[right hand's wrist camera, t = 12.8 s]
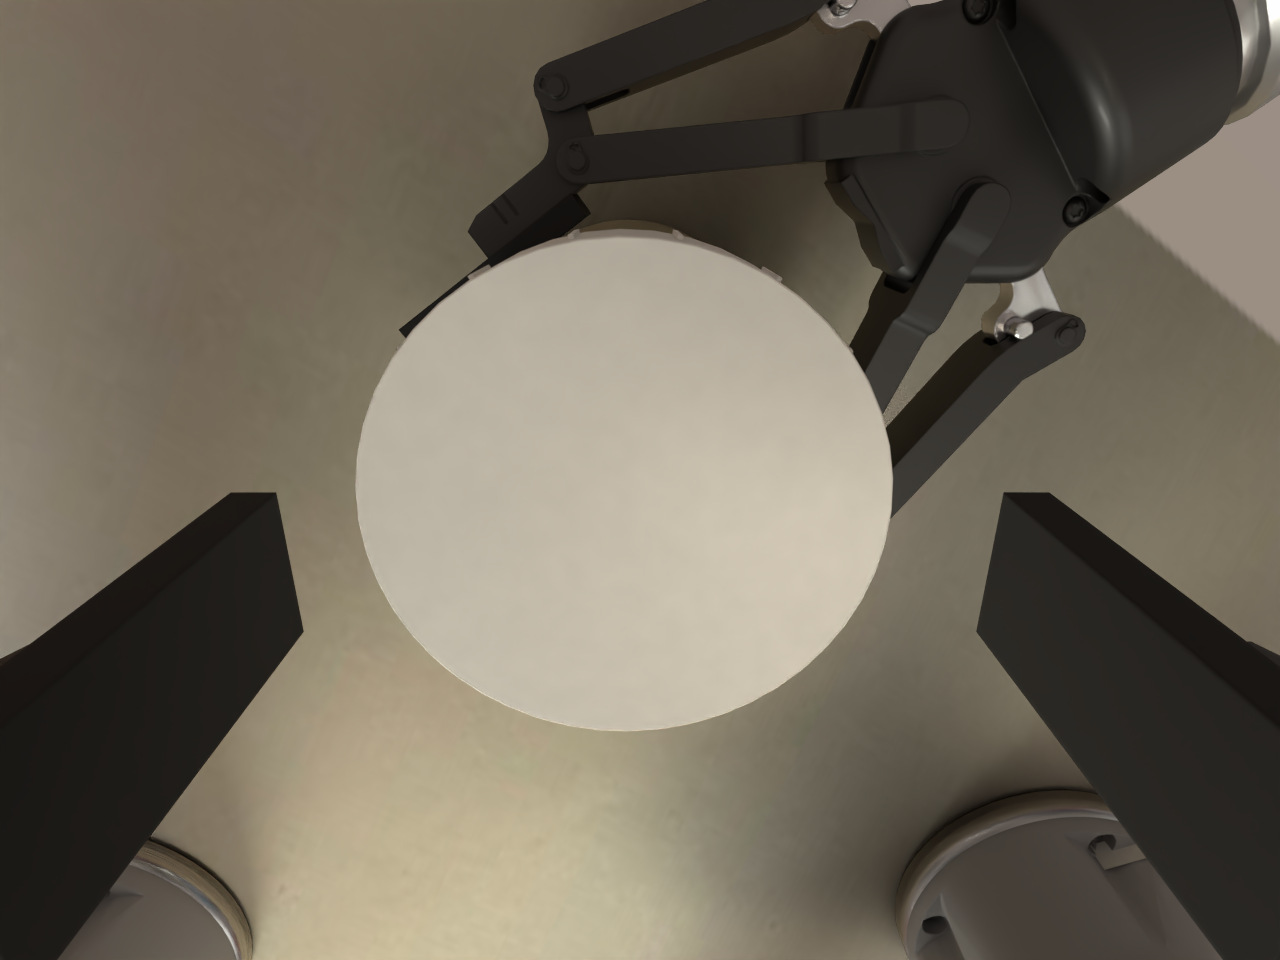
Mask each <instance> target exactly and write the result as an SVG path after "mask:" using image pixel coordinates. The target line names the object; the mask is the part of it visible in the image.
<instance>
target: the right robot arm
mask: <svg viewBox="0 0 1280 960" xmlns="http://www.w3.org/2000/svg"><path fill="white" fill-rule="evenodd" d="M303 632H304V631H303V626H302V621H301V616H300V611H299V606H298V601H297V596H296V591H295V585H294V580H293V575H292V570H291V565H290V560H289V555H288V550H287V545H286V540H285V535H284V530H283V525H282V520H281V514H280V509H279V504H278V499H277V494H276V493H230V494H228V495H227V496H226V497H224V498H223V499H222V500H220V501H219V502H218V503H216V504H215V505H214V506H212V507H211V508H210V509H208V510H207V511H206V512H204V513H203V514H202V515H200V516H199V517H198V518H196V519H195V520H194V521H193V522H191V523H190V524H189V525H187V526H186V527H185V528H183V529H182V530H181V531H179V532H178V533H177V534H175V535H174V536H173V537H171V538H170V539H169V540H167V541H166V542H165V543H163V544H162V545H161V546H159V547H158V548H157V549H155V550H154V551H153V552H151V553H150V554H149V555H147V556H146V557H145V558H144V559H142V560H141V561H140V562H138V563H137V564H136V565H134V566H133V567H132V568H130V569H129V570H128V571H126V572H125V573H124V574H122V575H121V576H120V577H118V578H117V579H116V580H114V581H113V582H112V583H110V584H109V585H108V586H106V587H105V588H104V589H102V590H101V591H100V592H99V593H97V594H96V595H95V596H93V597H92V598H91V599H89V600H88V601H87V602H85V603H84V604H83V605H81V606H80V607H79V608H77V609H76V610H75V611H73V612H72V613H71V614H69V615H68V616H67V617H65V618H64V619H63V620H61V621H60V622H59V623H57V624H56V625H55V626H53V627H52V628H51V629H50V630H48V631H47V632H46V633H44V634H43V635H42V636H40V637H39V638H38V639H36V640H35V641H34V642H32V643H31V644H29V645H27V646H25V647H23V648H21V649H19V650H17V651H15V652H13V653H11V654H9V655H7V656H5V657H3V658H1V659H0V960H251V957H252V939H251V933H250V929H249V926H248V923H247V921H246V918H245V916H244V914H243V912H242V910H241V908H240V907H239V905H238V904H237V902H236V901H235V899H234V898H233V897H232V896H231V894H230V893H229V892H228V891H227V890H226V889H225V888H224V887H223V886H222V885H221V884H220V883H219V882H218V881H217V880H216V879H215V878H214V877H213V876H212V875H210V874H209V873H208V872H207V871H205V870H204V869H203V868H201V867H200V866H198V865H197V864H196V863H194V862H192V861H191V860H189V859H187V858H186V857H184V856H182V855H180V854H178V853H176V852H174V851H172V850H170V849H168V848H166V847H163V846H161V845H159V844H156V843H153V842H151V841H148V838H149V837H150V836H151V834H152V833H153V832H154V830H155V829H156V828H157V826H158V825H159V824H160V822H161V821H162V820H163V818H164V817H165V816H166V814H167V813H168V812H169V810H170V809H171V808H172V806H173V805H174V804H175V802H176V801H177V800H178V798H179V797H180V796H181V794H182V793H183V792H184V790H185V789H186V788H187V786H188V785H189V784H190V782H191V781H192V780H193V778H194V777H195V776H196V774H197V773H198V772H199V770H200V769H201V768H202V766H203V765H204V764H205V762H206V761H207V760H208V758H209V757H210V756H211V754H212V753H213V752H214V750H215V749H216V748H217V746H218V745H219V744H220V742H221V741H222V740H223V738H224V737H225V736H226V734H227V733H228V732H229V730H230V729H231V728H232V726H233V725H234V724H235V722H236V721H237V720H238V718H239V717H240V716H241V714H242V713H243V712H244V710H245V709H246V708H247V706H248V705H249V704H250V702H251V701H252V700H253V698H254V697H255V696H256V694H257V693H258V692H259V690H260V689H261V688H262V686H263V685H264V684H265V682H266V681H267V680H268V678H269V677H270V676H271V674H272V673H273V672H274V670H275V669H276V668H277V666H278V665H279V664H280V662H281V661H282V660H283V658H284V657H285V656H286V654H287V653H288V652H289V650H290V649H291V648H292V646H293V645H294V644H295V642H296V641H297V640H298V638H299V637H300V636H301V634H302V633H303ZM976 632H977V633H978V634H979V636H980V637H981V638H982V640H983V641H984V642H985V644H986V645H987V646H988V648H989V649H990V650H991V652H992V653H993V654H994V656H995V657H996V658H997V660H998V661H999V662H1000V664H1001V665H1002V666H1003V668H1004V669H1005V670H1006V672H1007V673H1008V674H1009V676H1010V677H1011V678H1012V680H1013V681H1014V682H1015V684H1016V685H1017V686H1018V688H1019V689H1020V690H1021V692H1022V693H1023V694H1024V696H1025V697H1026V698H1027V700H1028V701H1029V702H1030V704H1031V705H1032V706H1033V708H1034V709H1035V710H1036V712H1037V713H1038V714H1039V716H1040V717H1041V718H1042V720H1043V721H1044V722H1045V724H1046V725H1047V726H1048V728H1049V729H1050V730H1051V732H1052V733H1053V734H1054V736H1055V737H1056V738H1057V740H1058V741H1059V742H1060V744H1061V745H1062V746H1063V748H1064V749H1065V750H1066V752H1067V753H1068V754H1069V756H1070V757H1071V758H1072V760H1073V761H1074V762H1075V764H1076V765H1077V766H1078V768H1079V769H1080V770H1081V772H1082V773H1083V774H1084V776H1085V777H1086V778H1087V780H1088V781H1089V782H1090V784H1091V785H1092V786H1093V788H1094V789H1095V790H1096V792H1097V793H1098V794H1099V796H1100V797H1101V798H1102V800H1103V801H1104V802H1105V804H1106V805H1107V806H1108V808H1109V809H1110V810H1111V812H1112V813H1113V814H1114V816H1115V817H1116V818H1117V820H1118V821H1119V822H1120V824H1121V825H1122V826H1123V828H1124V829H1125V830H1126V832H1127V833H1128V834H1129V836H1130V837H1131V838H1132V840H1133V841H1134V842H1135V844H1136V845H1137V846H1138V848H1139V849H1140V850H1141V852H1142V853H1143V854H1144V856H1145V857H1146V858H1147V860H1148V861H1149V862H1150V864H1151V865H1152V866H1153V868H1154V869H1155V870H1156V872H1157V873H1158V874H1159V876H1160V877H1161V878H1162V880H1163V881H1164V882H1165V884H1166V885H1167V886H1168V888H1169V889H1170V890H1171V892H1172V893H1173V894H1174V896H1175V897H1176V898H1177V900H1178V901H1179V902H1180V904H1181V905H1182V906H1183V908H1184V909H1185V910H1186V912H1187V913H1188V914H1189V916H1190V917H1191V918H1192V920H1193V921H1194V922H1195V924H1196V925H1197V926H1198V928H1199V929H1200V930H1201V932H1202V933H1203V934H1204V936H1205V937H1206V938H1207V940H1208V941H1209V942H1210V944H1211V945H1212V946H1213V948H1214V949H1215V950H1216V952H1217V953H1218V954H1219V956H1220V957H1221V958H1222V960H1280V656H1279V655H1277V654H1275V653H1273V652H1271V651H1269V650H1267V649H1265V648H1263V647H1261V646H1259V645H1257V644H1255V643H1253V642H1246V641H1245V640H1244V639H1242V638H1241V637H1240V636H1238V635H1237V634H1236V633H1234V632H1233V631H1232V630H1230V629H1229V628H1228V627H1227V626H1225V625H1224V624H1223V623H1221V622H1220V621H1219V620H1217V619H1216V618H1215V617H1213V616H1212V615H1211V614H1209V613H1208V612H1207V611H1205V610H1204V609H1203V608H1201V607H1200V606H1199V605H1197V604H1196V603H1195V602H1193V601H1192V600H1191V599H1189V598H1188V597H1187V596H1185V595H1184V594H1183V593H1181V592H1180V591H1179V590H1178V589H1176V588H1175V587H1174V586H1172V585H1171V584H1170V583H1168V582H1167V581H1166V580H1164V579H1163V578H1162V577H1160V576H1159V575H1158V574H1156V573H1155V572H1154V571H1152V570H1151V569H1150V568H1148V567H1147V566H1146V565H1144V564H1143V563H1142V562H1140V561H1139V560H1138V559H1136V558H1135V557H1134V556H1133V555H1131V554H1130V553H1129V552H1127V551H1126V550H1125V549H1123V548H1122V547H1121V546H1119V545H1118V544H1117V543H1115V542H1114V541H1113V540H1111V539H1110V538H1109V537H1107V536H1106V535H1105V534H1103V533H1102V532H1101V531H1099V530H1098V529H1097V528H1095V527H1094V526H1093V525H1091V524H1090V523H1089V522H1087V521H1086V520H1085V519H1084V518H1082V517H1081V516H1080V515H1078V514H1077V513H1076V512H1074V511H1073V510H1072V509H1070V508H1069V507H1068V506H1066V505H1065V504H1064V503H1062V502H1061V501H1060V500H1058V499H1057V498H1056V497H1054V496H1053V495H1052V494H1050V493H1004V494H1003V499H1002V504H1001V509H1000V514H999V520H998V525H997V530H996V535H995V540H994V545H993V550H992V555H991V560H990V565H989V570H988V575H987V580H986V585H985V591H984V596H983V601H982V606H981V611H980V616H979V621H978V626H977V631H976Z"/></svg>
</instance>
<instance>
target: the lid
mask: <svg viewBox="0 0 1280 960" xmlns="http://www.w3.org/2000/svg"><path fill="white" fill-rule="evenodd" d="M468 278H469V281H467V282H466V283H465V284H463V285H462V286H461V287H459V288H458V289H457V290H455V291H454V292H453V293H452V294H450V295H449V296H448V297H446V298H445V299H444V300H442V301H441V302H440V303H438V304H437V305H436V306H435V307H434V308H433V309H432V310H431V311H430V312H429V313H428V314H427V315H426V316H425V318H424V319H423V320H422V321H421V322H420V323H419V324H418V325H417V326H416V327H415V328H414V329H413V330H412V331H411V332H410V334H409V335H408V336H407V338H406V339H405V341H404V342H403V343H402V344H400V345H399V346H398V347H397V348H396V350H397V351H396V353H395V354H394V356H393V357H392V358H391V360H390V362H389V364H388V366H387V368H386V369H385V371H384V373H383V375H382V377H381V379H380V381H379V383H378V385H377V386H376V388H375V390H374V393H373V396H372V399H371V402H370V405H369V407H368V410H367V413H366V416H365V419H364V422H363V426H362V431H361V436H360V441H359V447H358V452H357V462H356V483H355V491H356V501H357V511H358V521H359V525H360V529H361V534H362V538H363V542H364V546H365V550H366V554H367V556H368V559H369V561H370V564H371V566H372V569H373V571H374V574H375V576H376V579H377V582H378V583H379V585H380V587H381V589H382V591H383V593H384V594H385V596H386V598H387V600H388V602H389V603H390V605H391V607H392V609H393V610H394V612H395V613H396V614H397V616H398V617H399V618H400V620H401V621H402V622H403V624H404V625H405V627H406V628H407V629H408V631H409V632H410V633H411V635H412V636H413V637H414V638H415V639H416V640H417V641H418V642H419V643H420V644H421V645H422V646H423V647H424V648H425V649H426V651H427V652H428V653H429V654H430V655H431V656H432V657H433V658H434V659H436V660H437V661H438V662H439V663H440V664H442V665H443V666H444V667H445V668H446V669H448V670H449V671H450V672H451V673H452V674H454V675H455V676H456V677H457V678H459V679H460V680H462V681H464V682H465V683H467V684H468V685H470V686H471V687H473V688H474V689H476V690H477V691H479V692H480V693H482V694H484V695H486V696H488V697H490V698H492V699H494V700H496V701H498V702H500V703H502V704H504V705H506V706H508V707H510V708H512V709H515V710H518V711H520V712H523V713H526V714H528V715H531V716H534V717H537V718H539V719H543V720H547V721H551V722H555V723H559V724H563V725H567V726H573V727H580V728H587V729H594V730H606V731H642V730H656V729H665V728H670V727H676V726H681V725H687V724H692V723H696V722H699V721H702V720H706V719H709V718H713V717H716V716H719V715H722V714H725V713H727V712H730V711H732V710H734V709H737V708H739V707H741V706H744V705H746V704H749V703H751V702H753V701H754V700H756V699H758V698H760V697H762V696H763V695H765V694H767V693H769V692H771V691H772V690H774V689H776V688H778V687H779V686H780V685H782V684H783V683H785V682H786V681H787V680H789V679H790V678H792V677H793V676H794V675H796V674H797V673H798V672H800V671H801V670H802V669H804V668H805V667H806V666H807V665H808V664H809V663H810V662H811V661H812V660H813V659H815V658H816V657H817V656H818V655H819V654H820V653H821V652H822V651H823V650H824V649H825V648H826V647H827V646H828V645H829V644H830V642H831V641H832V640H833V639H834V638H835V637H836V636H837V634H838V633H839V632H840V631H841V630H842V629H843V627H844V626H845V625H846V623H847V622H848V620H849V619H850V617H851V616H852V614H853V613H854V611H855V610H856V608H857V607H858V605H859V604H860V602H861V601H862V599H863V597H864V595H865V593H866V591H867V589H868V587H869V585H870V583H871V580H872V578H873V576H874V574H875V572H876V569H877V566H878V563H879V560H880V557H881V554H882V552H883V549H884V546H885V543H886V537H887V532H888V527H889V522H890V516H891V511H892V491H893V472H892V462H891V452H890V444H889V440H888V436H887V432H886V428H885V424H884V420H883V415H882V412H881V409H880V407H879V405H878V402H877V400H876V397H875V395H874V392H873V390H872V387H871V385H870V383H869V380H868V379H867V377H866V375H865V374H864V372H863V370H862V368H861V367H860V365H859V363H858V362H857V360H856V358H855V357H854V355H853V350H852V349H851V348H850V347H849V346H848V345H846V344H845V343H844V341H843V340H842V339H841V338H840V336H839V335H838V334H837V333H836V331H835V330H834V329H833V328H832V326H831V325H830V324H829V323H828V322H827V321H826V320H825V319H824V318H823V317H822V316H821V315H820V314H819V313H818V312H817V311H816V310H815V309H813V308H812V307H811V306H810V305H809V304H808V303H807V302H806V301H805V300H804V299H803V298H802V297H800V296H799V295H798V294H796V293H795V292H793V291H792V290H790V289H789V288H787V287H786V286H785V285H783V284H782V283H780V282H781V281H782V279H783V278H782V277H780V276H779V275H777V274H775V273H774V272H772V271H770V270H769V269H767V268H765V267H762V268H761V269H759V268H757V267H756V266H754V265H753V264H751V263H749V262H747V261H745V260H743V259H741V258H739V257H737V256H735V255H733V254H731V253H729V252H727V251H725V250H723V249H721V248H719V247H716V246H713V245H710V244H707V243H704V242H701V241H698V240H695V239H692V238H689V237H685V236H683V235H682V234H681V233H680V232H679V231H678V230H673V232H672V234H669V233H664V232H659V231H652V230H632V229H613V230H601V231H590V232H583V233H580V229H576V230H574V231H572V232H571V233H570V234H568V235H567V236H565V237H561V238H557V239H552V240H550V241H547V242H544V243H542V244H539V245H537V246H534V247H531V248H529V249H526V250H523V251H521V252H519V253H517V254H515V255H514V256H512V257H510V258H508V259H506V260H504V261H503V262H501V263H499V264H497V265H495V266H494V267H492V268H491V267H490V265H487V266H485V267H483V268H481V269H479V270H477V271H476V272H474V273H472V274H470V275H469V276H468Z"/></svg>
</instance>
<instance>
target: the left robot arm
mask: <svg viewBox="0 0 1280 960" xmlns="http://www.w3.org/2000/svg"><path fill="white" fill-rule="evenodd" d="M808 20H811V22H812V23H813V25H814V26H815V27H816V29H817V30H818V31H820V32H821V33H823V34H828V35H832V34H836V33H838V32H841V31H843V30H845V29H847V28H858V29H861V30H863V31H864V32H866V34H867V35H868V36H869V37H870V41H869V43H868V45H867V48H866V50H865V53H864V56H863V58H862V61H861V63H860V66H859V69H858V71H857V74H856V76H855V79H854V82H853V84H852V87H851V90H850V92H849V95H848V97H847V100H846V103H845V105H844V108H843V110H834V111H824V112H815V113H808V114H802V115H796V116H787V117H777V118H766V119H756V120H746V121H736V122H726V123H716V124H706V125H696V126H686V127H675V128H665V129H655V130H645V131H635V132H625V133H615V134H605V135H595V136H594V132H593V129H592V125H591V122H590V118H589V115H588V111H591V110H593V109H596V108H598V107H601V106H604V105H606V104H609V103H611V102H614V101H617V100H619V99H622V98H625V97H627V96H630V95H632V94H635V93H638V92H640V91H643V90H645V89H648V88H651V87H653V86H656V85H659V84H661V83H664V82H666V81H669V80H672V79H674V78H677V77H679V76H682V75H685V74H687V73H690V72H692V71H695V70H698V69H700V68H703V67H706V66H708V65H711V64H713V63H716V62H719V61H721V60H724V59H726V58H729V57H732V56H734V55H737V54H740V53H742V52H745V51H747V50H750V49H753V48H755V47H758V46H760V45H763V44H766V43H768V42H771V41H773V40H776V39H778V38H780V37H782V36H784V35H787V34H789V33H790V32H792V31H794V30H795V29H797V28H799V27H800V26H802V25H803V24H805V23H806V22H807V21H808ZM533 86H534V92H535V96H536V98H537V99H538V101H539V105H540V108H541V111H542V115H543V118H544V121H545V125H546V128H547V131H548V137H549V147H548V150H547V154H546V156H545V157H544V159H543V160H542V161H541V163H540V164H539V165H538V166H536V167H535V168H534V169H533V170H531V171H530V172H529V173H528V174H526V175H525V176H524V177H523V178H522V179H520V180H519V181H518V182H517V183H515V184H514V185H513V186H512V187H511V188H509V189H508V190H507V191H506V192H504V193H503V194H502V195H501V196H500V197H498V198H497V199H496V200H495V201H493V202H492V203H491V204H490V205H489V206H487V207H486V208H485V209H484V210H482V211H481V212H480V213H479V214H477V215H476V217H475V219H474V221H473V223H472V225H471V227H470V229H469V231H468V233H469V234H470V235H471V237H472V238H473V239H474V241H475V242H476V243H477V244H478V246H479V247H480V248H481V250H482V251H483V252H484V253H485V255H486V256H487V257H488V259H487V260H486V261H485V262H483V263H482V264H481V265H479V266H478V267H477V268H476V269H474V270H473V271H472V272H471V273H469V274H468V275H467V276H466V277H464V278H463V279H462V280H461V281H459V282H458V283H457V284H456V285H454V286H453V287H452V288H451V289H449V290H448V291H447V292H446V293H444V294H443V295H442V296H441V297H439V298H438V299H437V300H436V301H434V302H433V303H432V304H431V305H429V306H428V307H427V308H426V309H424V310H423V311H422V312H421V313H419V314H418V315H417V316H416V317H414V318H413V319H412V320H410V321H409V322H408V323H407V324H405V325H404V326H403V327H402V328H400V329H399V331H400V332H401V333H402V334H403V335H404V337H405V338H407V336H408V335H409V334H410V332H411V331H412V330H413V329H414V328H415V327H416V326H417V325H418V324H419V323H420V322H421V321H422V320H423V319H424V318H425V316H426V315H427V314H428V313H429V312H430V311H431V310H432V309H433V308H434V307H435V306H436V305H437V304H438V303H440V302H441V301H442V300H444V299H445V298H446V297H448V296H449V295H450V294H452V293H453V292H454V291H455V290H457V289H458V288H459V287H461V286H462V285H463V284H465V283H466V282H467V281H469V278H468V276H469V275H470V274H472V273H474V272H476V271H477V270H479V269H481V268H483V267H485V266H487V265H490V267H491V268H492V267H494V266H495V265H497V264H499V263H501V262H503V261H504V260H506V259H508V258H510V257H512V256H514V255H515V254H517V253H519V252H521V251H523V250H526V249H529V248H531V247H534V246H537V245H539V244H542V243H544V242H547V241H550V240H552V239H557V238H560V237H561V236H563V235H564V234H565V233H567V232H568V231H569V230H570V229H572V228H573V227H574V226H576V225H577V224H578V223H579V222H581V221H582V220H583V219H584V218H586V217H587V216H588V215H590V214H591V212H590V211H589V210H588V208H587V207H586V205H585V204H584V203H583V201H582V200H581V198H580V197H579V195H578V194H577V193H578V192H579V191H581V190H582V189H583V188H584V187H586V186H587V185H588V184H595V183H605V182H616V181H626V180H636V179H646V178H657V177H667V176H677V175H687V174H698V173H708V172H718V171H728V170H739V169H749V168H759V167H770V166H780V165H792V164H802V163H812V162H823V161H826V175H827V179H828V180H827V181H826V182H825V183H824V184H825V186H826V188H827V189H828V191H829V193H830V195H831V196H832V198H833V200H834V201H835V203H836V204H837V205H838V206H839V207H840V208H841V209H842V210H843V211H844V212H845V213H846V214H847V215H848V216H849V217H850V218H851V219H853V221H854V222H855V225H856V229H857V233H858V236H859V240H860V244H861V247H862V249H863V251H864V252H865V254H866V256H867V257H868V259H869V261H870V262H871V264H872V266H873V267H876V268H880V269H881V270H882V271H883V273H882V275H881V276H880V278H879V280H878V282H877V284H876V286H875V288H874V290H873V292H872V294H871V296H870V299H869V308H868V311H867V313H866V315H865V317H864V319H863V321H862V323H861V325H860V327H859V329H858V330H857V332H856V334H855V336H854V338H853V340H852V342H851V344H850V346H849V347H850V348H851V349H852V350H853V355H854V357H855V358H856V360H857V362H858V363H859V365H860V367H861V368H862V370H863V372H864V374H865V375H866V377H867V379H868V380H869V383H870V385H871V387H872V390H873V392H874V395H875V397H876V400H877V402H878V405H879V407H880V409H881V412H882V414H883V413H884V411H885V409H886V407H887V406H888V404H889V402H890V400H891V399H892V397H893V395H894V393H895V392H896V390H897V388H898V386H899V384H900V383H901V381H902V379H903V377H904V376H905V374H906V372H907V370H908V369H909V367H910V365H911V363H912V361H913V360H914V358H915V356H916V354H917V353H918V351H919V349H920V347H921V346H922V344H923V342H924V341H925V339H926V338H927V337H928V336H929V335H931V334H932V333H934V332H935V331H936V330H937V329H938V328H939V327H940V325H941V324H942V322H943V321H944V319H945V317H946V316H947V314H948V312H949V310H950V309H951V307H952V305H953V303H954V301H955V300H956V298H957V296H958V294H959V293H960V291H961V289H962V287H963V286H964V284H965V283H999V284H1000V294H999V297H998V299H997V301H996V302H995V304H994V305H993V306H992V307H991V308H990V309H989V310H988V311H986V312H985V313H984V314H983V315H982V319H981V321H982V330H980V331H979V332H977V333H976V334H975V335H973V336H972V337H971V338H970V339H968V340H967V341H966V342H965V343H964V344H962V345H961V346H960V347H959V348H958V349H957V350H956V351H955V352H954V353H953V354H952V356H951V357H950V358H949V359H948V360H947V361H946V362H945V363H944V364H943V366H942V367H941V368H940V369H939V370H938V371H937V372H936V373H935V374H934V375H933V377H932V378H931V379H930V380H929V381H928V382H927V383H926V384H925V385H924V386H923V388H922V389H921V390H920V391H919V392H918V393H917V394H916V395H915V396H914V398H913V399H912V400H911V401H910V402H909V403H908V404H907V405H906V406H905V407H904V409H903V410H902V411H901V412H900V413H899V414H898V415H897V416H896V417H895V418H894V420H893V421H892V422H891V423H890V424H889V425H888V426H887V427H886V432H887V436H888V440H889V444H890V452H891V462H892V472H893V491H892V511H891V516H890V519H891V518H892V517H893V515H894V514H895V513H896V512H897V511H898V510H899V509H900V508H901V507H902V506H903V505H904V504H905V503H906V502H907V501H908V500H909V499H910V498H911V497H912V496H913V494H914V493H915V492H916V491H917V490H918V489H919V488H920V487H921V486H922V485H923V484H924V483H925V482H926V481H927V480H928V479H929V478H930V477H931V476H932V475H933V473H934V472H935V471H936V470H937V469H938V468H939V467H940V466H941V465H942V464H943V463H944V462H945V461H946V460H947V459H948V458H949V457H950V456H951V455H952V454H953V452H954V451H955V450H956V449H957V448H958V447H959V446H960V445H961V444H962V443H963V442H964V441H965V440H966V439H967V438H968V437H969V436H970V435H971V434H972V433H973V431H974V430H975V429H976V428H977V427H978V426H979V425H980V424H981V423H982V422H983V421H984V420H985V419H986V418H987V417H988V416H989V415H990V414H991V413H992V412H993V410H994V409H995V408H996V407H997V406H998V405H999V404H1000V403H1001V402H1002V401H1003V400H1004V399H1005V398H1006V397H1007V396H1008V395H1009V394H1010V393H1011V392H1012V390H1013V389H1014V388H1015V387H1016V386H1017V385H1018V384H1019V383H1020V382H1021V381H1022V380H1024V379H1025V378H1027V377H1029V376H1031V375H1032V374H1034V373H1036V372H1038V371H1039V370H1041V369H1043V368H1044V367H1046V366H1048V365H1050V364H1051V363H1053V362H1055V361H1057V360H1058V359H1060V358H1062V357H1064V356H1065V355H1067V354H1069V353H1071V352H1072V351H1074V350H1075V349H1076V348H1077V347H1079V346H1080V344H1081V343H1082V341H1083V340H1084V337H1085V332H1086V330H1085V324H1084V323H1083V321H1082V320H1081V319H1080V318H1078V317H1076V316H1074V315H1071V314H1067V313H1064V312H1062V311H1061V309H1060V307H1059V305H1058V302H1057V300H1056V298H1055V295H1054V293H1053V291H1052V289H1051V286H1050V284H1049V282H1048V279H1047V277H1046V275H1045V272H1044V270H1043V268H1042V267H1043V266H1044V265H1045V264H1046V263H1047V261H1048V260H1049V258H1050V257H1051V255H1052V253H1053V252H1054V250H1055V249H1056V247H1057V246H1058V245H1059V243H1060V242H1061V241H1062V240H1063V239H1064V237H1065V236H1066V235H1067V234H1068V233H1070V232H1071V231H1072V230H1073V229H1075V228H1076V227H1078V226H1079V225H1081V224H1083V223H1084V222H1086V221H1088V220H1089V219H1091V218H1093V217H1095V216H1096V215H1098V214H1100V213H1101V212H1103V211H1105V210H1106V209H1108V208H1109V207H1111V206H1112V205H1114V204H1115V203H1117V202H1118V201H1120V200H1121V199H1123V198H1124V197H1126V196H1127V195H1129V194H1130V193H1132V192H1133V191H1135V190H1136V189H1138V188H1139V187H1141V186H1142V185H1144V184H1145V183H1147V182H1148V181H1150V180H1151V179H1153V178H1154V177H1156V176H1157V175H1159V174H1160V173H1162V172H1163V171H1165V170H1166V169H1168V168H1169V167H1171V166H1172V165H1174V164H1175V163H1177V162H1178V161H1180V160H1181V159H1183V158H1184V157H1186V156H1187V155H1189V154H1190V153H1192V152H1193V151H1195V150H1196V149H1198V148H1199V147H1201V146H1202V145H1204V144H1205V143H1207V142H1208V141H1209V140H1210V139H1212V138H1213V137H1214V136H1215V135H1216V134H1217V133H1218V132H1219V130H1220V129H1221V128H1222V127H1223V125H1227V124H1230V123H1233V122H1235V121H1238V120H1240V119H1242V118H1245V117H1247V116H1249V115H1250V114H1252V113H1253V112H1255V111H1256V110H1258V109H1259V108H1260V107H1262V106H1263V105H1265V104H1266V103H1268V102H1269V101H1271V100H1272V99H1274V98H1275V97H1277V96H1278V95H1280V0H942V1H939V2H936V3H931V4H924V5H916V6H912V7H911V6H910V4H909V2H908V1H907V0H707V1H704V2H702V3H699V4H697V5H694V6H692V7H689V8H687V9H684V10H682V11H679V12H676V13H674V14H671V15H669V16H666V17H664V18H661V19H659V20H656V21H654V22H651V23H648V24H646V25H643V26H641V27H638V28H636V29H633V30H631V31H628V32H625V33H623V34H620V35H618V36H615V37H613V38H610V39H608V40H605V41H603V42H600V43H597V44H595V45H592V46H590V47H587V48H585V49H582V50H580V51H577V52H575V53H572V54H569V55H567V56H564V57H562V58H559V59H557V60H554V61H552V62H549V63H547V64H545V65H544V66H542V67H541V68H540V69H539V71H538V72H537V74H536V75H535V80H534V85H533ZM895 918H896V924H897V928H898V931H899V934H900V937H901V940H902V942H903V945H904V948H905V951H906V954H907V956H908V959H909V960H1222V958H1221V957H1220V956H1219V954H1218V953H1217V952H1216V950H1215V949H1214V948H1213V946H1212V945H1211V944H1210V942H1209V941H1208V940H1207V938H1206V937H1205V936H1204V934H1203V933H1202V932H1201V930H1200V929H1199V928H1198V926H1197V925H1196V924H1195V922H1194V921H1193V920H1192V918H1191V917H1190V916H1189V914H1188V913H1187V912H1186V910H1185V909H1184V908H1183V906H1182V905H1181V904H1180V902H1179V901H1178V900H1177V898H1176V897H1175V896H1174V894H1173V893H1172V892H1171V890H1170V889H1169V888H1168V886H1167V885H1166V884H1165V882H1164V881H1163V880H1162V878H1161V877H1160V876H1159V874H1158V873H1157V872H1156V870H1155V869H1154V868H1153V866H1152V865H1151V864H1150V862H1149V861H1148V860H1147V858H1146V857H1145V856H1144V854H1143V853H1142V852H1141V850H1140V849H1139V848H1138V846H1137V845H1136V844H1135V842H1134V841H1133V840H1132V838H1131V837H1130V836H1129V834H1128V833H1127V832H1126V830H1125V829H1124V828H1123V826H1122V825H1121V824H1120V822H1119V821H1118V820H1117V818H1116V817H1115V816H1114V814H1113V813H1112V812H1111V810H1110V809H1109V808H1108V806H1107V805H1106V804H1105V802H1104V801H1103V800H1102V798H1101V797H1100V796H1099V795H1098V794H1094V793H1088V792H1082V791H1069V790H1054V791H1040V792H1033V793H1027V794H1022V795H1017V796H1013V797H1009V798H1006V799H1002V800H999V801H996V802H993V803H991V804H988V805H985V806H983V807H981V808H978V809H976V810H974V811H972V812H970V813H968V814H966V815H964V816H963V817H961V818H959V819H957V820H956V821H954V822H953V823H951V824H950V825H948V826H947V827H945V828H944V829H943V830H941V831H940V832H939V833H938V834H936V835H935V836H934V837H933V838H932V839H931V840H930V841H929V842H927V843H926V844H925V846H924V847H923V848H922V849H921V850H920V851H919V852H918V853H917V855H916V856H915V857H914V859H913V860H912V861H911V863H910V864H909V866H908V868H907V869H906V871H905V873H904V875H903V877H902V879H901V882H900V885H899V888H898V891H897V895H896V901H895Z"/></svg>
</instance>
